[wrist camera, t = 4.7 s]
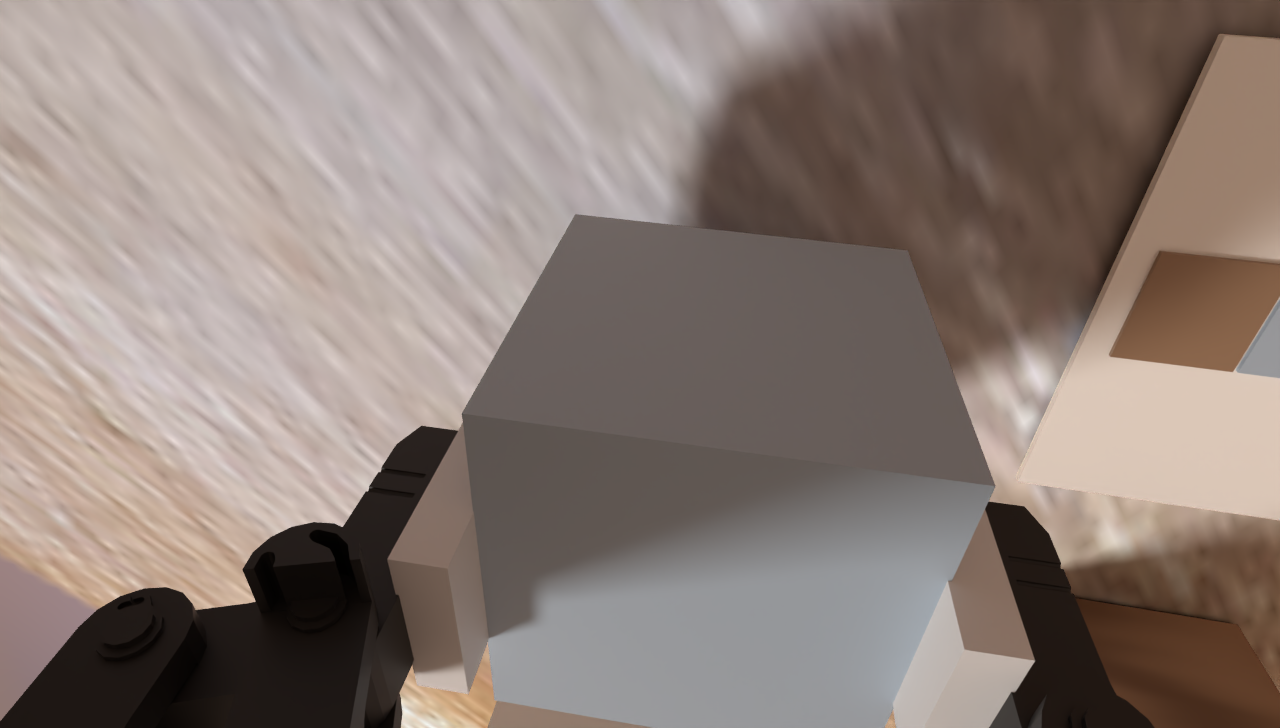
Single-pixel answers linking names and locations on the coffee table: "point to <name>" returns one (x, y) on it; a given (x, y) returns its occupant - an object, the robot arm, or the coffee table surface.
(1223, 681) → the walnut base brick
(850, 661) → the slate brick
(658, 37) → the coffee table surface
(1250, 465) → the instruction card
